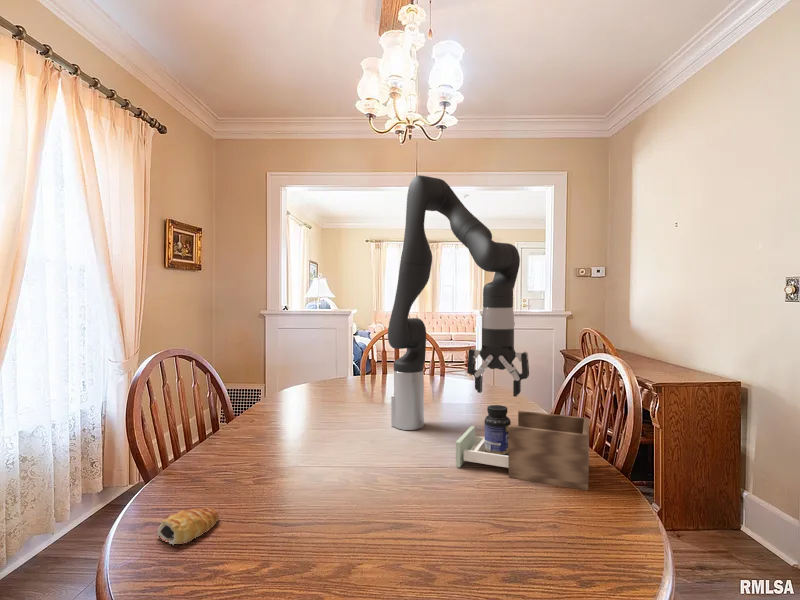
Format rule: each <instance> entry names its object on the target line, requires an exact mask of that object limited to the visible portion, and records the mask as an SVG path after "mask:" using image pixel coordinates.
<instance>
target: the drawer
mask: <svg viewBox="0 0 800 600" xmlns="http://www.w3.org/2000/svg"><path fill="white" fill-rule="evenodd" d="M465 462H470V463H477V464H483V465H488V466H489V465H490V466H496V467H502V468H506V469H507V468H508V469H509V458H508V456H507V455H500V454H493V453H487V452H485V436H481V435H480V436H478V435H476V426H475V425H470V427H469V428H468V429H467V430H465V432H464V433H463V434H462V435H461V436H460V437H459V438H458V439H457V440H456V441H455V467H456V468H461V467H462V465H463V464H464V463H465Z"/></svg>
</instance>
